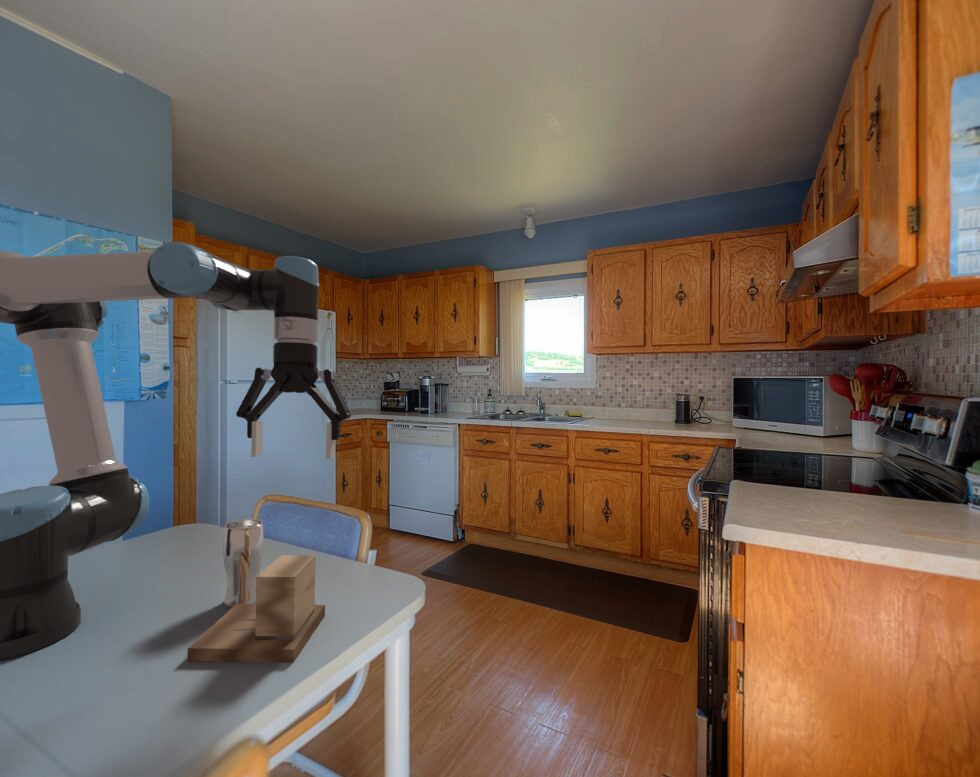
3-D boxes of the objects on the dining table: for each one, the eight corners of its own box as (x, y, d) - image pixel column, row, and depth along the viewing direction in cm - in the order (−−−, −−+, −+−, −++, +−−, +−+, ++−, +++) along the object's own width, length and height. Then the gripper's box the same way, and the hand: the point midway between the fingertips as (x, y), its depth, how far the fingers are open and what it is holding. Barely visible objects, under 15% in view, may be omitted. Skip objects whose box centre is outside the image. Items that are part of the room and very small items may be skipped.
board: (187, 661, 69) (187, 648, 69) (236, 614, 83) (236, 603, 83) (293, 662, 70) (293, 649, 70) (324, 615, 84) (325, 604, 84)
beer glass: (245, 611, 85) (246, 530, 85) (212, 606, 86) (214, 527, 86) (270, 594, 92) (271, 519, 91) (240, 590, 93) (241, 517, 93)
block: (255, 639, 72) (256, 576, 72) (280, 611, 81) (281, 555, 81) (293, 640, 72) (294, 577, 72) (314, 611, 81) (315, 555, 81)
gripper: (216, 339, 81) (214, 458, 81) (357, 342, 82) (355, 461, 82) (238, 342, 89) (236, 452, 89) (368, 346, 89) (366, 454, 89)
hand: (293, 456), depth 85 cm, fingers open, 13 cm apart
